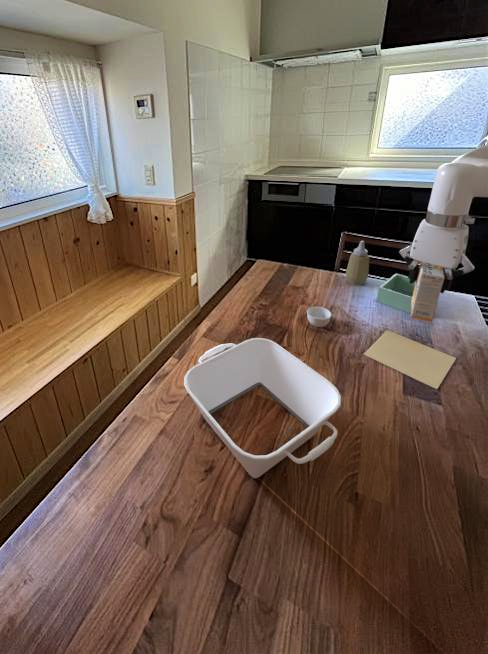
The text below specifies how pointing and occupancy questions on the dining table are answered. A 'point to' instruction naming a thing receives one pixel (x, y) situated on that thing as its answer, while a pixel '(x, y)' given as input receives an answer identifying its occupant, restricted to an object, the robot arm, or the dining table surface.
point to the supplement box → (427, 291)
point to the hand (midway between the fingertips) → (427, 285)
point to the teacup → (318, 316)
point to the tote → (394, 297)
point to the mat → (411, 358)
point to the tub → (278, 380)
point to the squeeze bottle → (358, 266)
